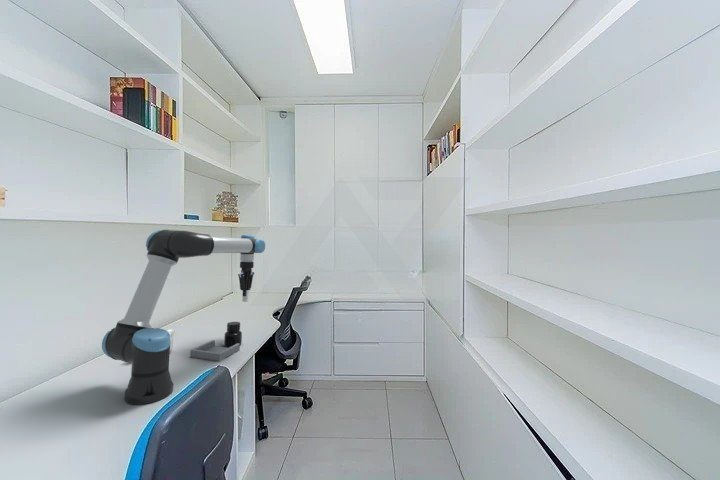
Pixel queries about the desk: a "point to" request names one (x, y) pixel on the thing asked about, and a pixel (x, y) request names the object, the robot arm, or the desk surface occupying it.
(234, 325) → the ink bottle
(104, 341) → the robot arm
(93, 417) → the desk surface
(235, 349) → the tray
